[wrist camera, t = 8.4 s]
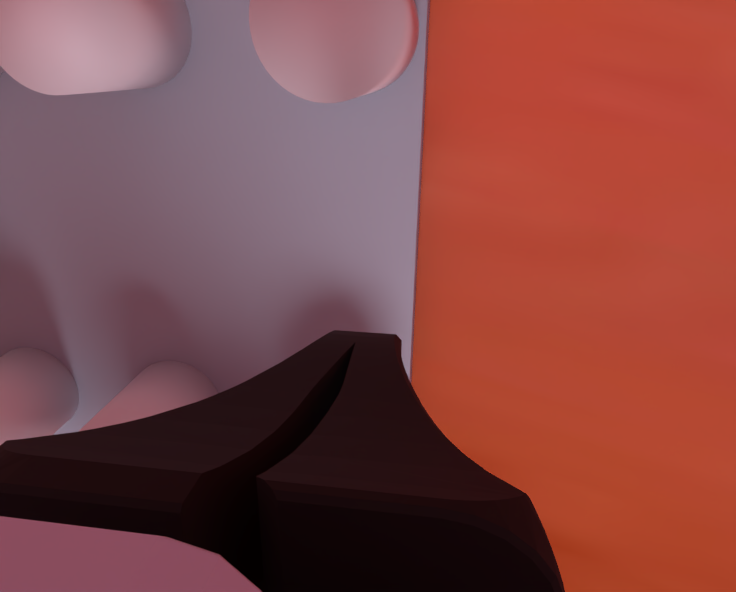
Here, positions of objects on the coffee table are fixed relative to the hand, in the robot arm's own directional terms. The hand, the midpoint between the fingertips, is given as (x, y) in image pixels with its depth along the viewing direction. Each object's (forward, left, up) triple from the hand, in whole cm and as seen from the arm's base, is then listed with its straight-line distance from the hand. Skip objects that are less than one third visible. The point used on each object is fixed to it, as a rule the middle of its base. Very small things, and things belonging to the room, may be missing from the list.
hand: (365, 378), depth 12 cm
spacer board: (0, +11, -10) cm, 15 cm away
